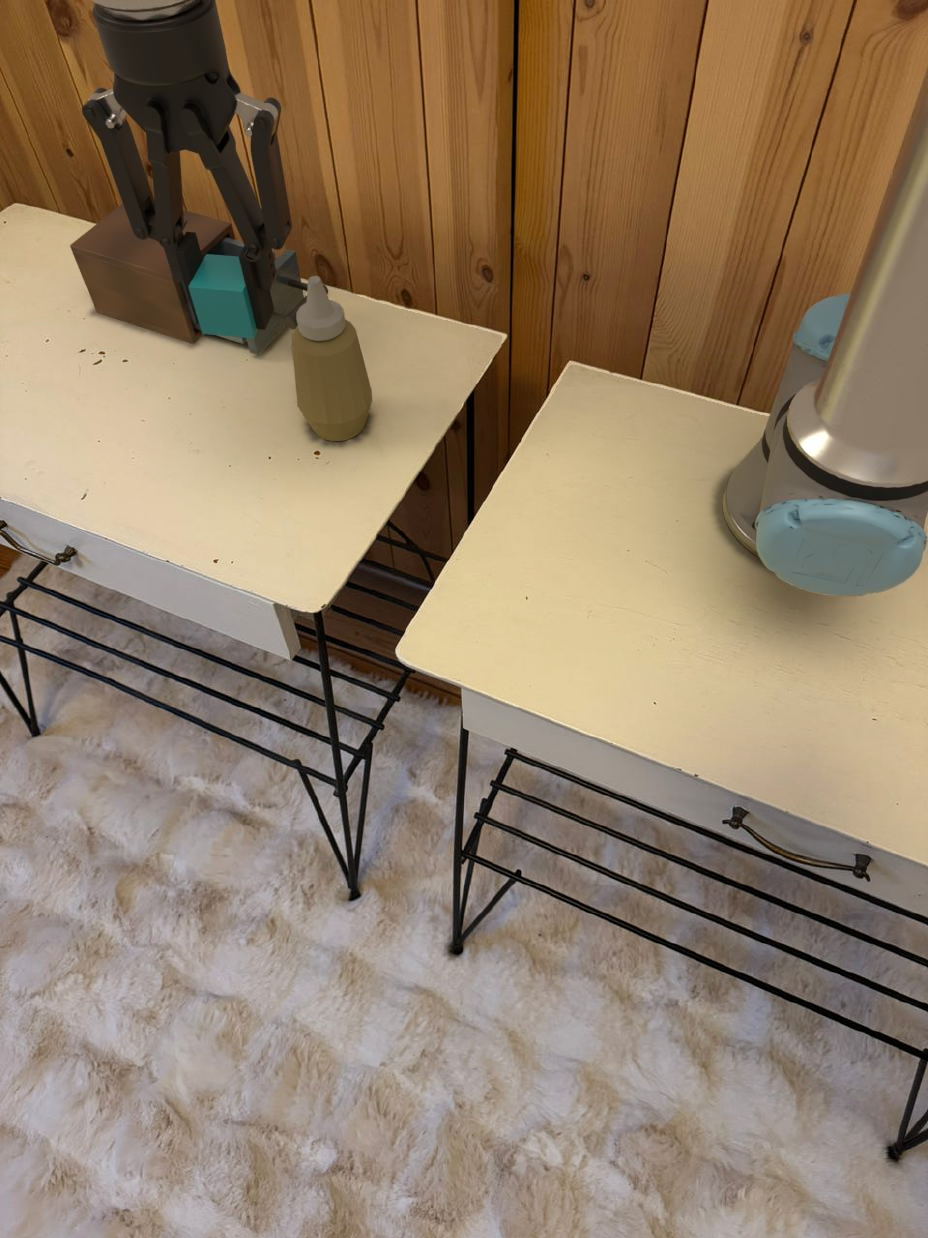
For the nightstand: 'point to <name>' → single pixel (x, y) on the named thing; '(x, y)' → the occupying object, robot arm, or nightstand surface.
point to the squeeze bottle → (329, 368)
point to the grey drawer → (283, 295)
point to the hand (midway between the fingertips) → (235, 315)
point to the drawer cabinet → (140, 273)
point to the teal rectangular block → (222, 298)
